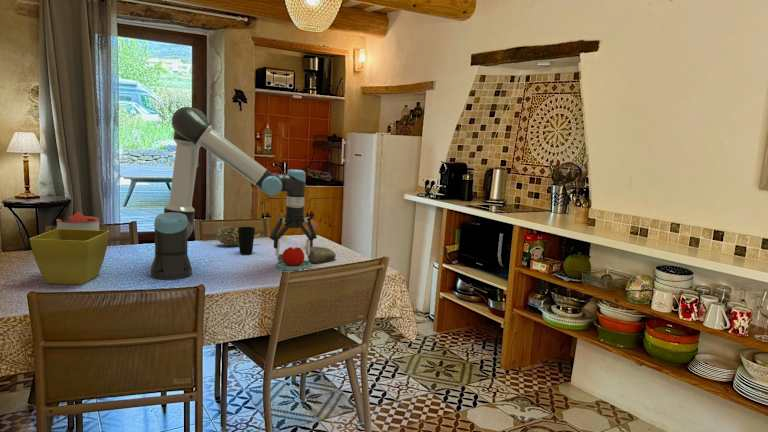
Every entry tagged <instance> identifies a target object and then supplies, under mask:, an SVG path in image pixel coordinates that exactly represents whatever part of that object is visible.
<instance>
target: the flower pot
mask: <svg viewBox="0 0 768 432" xmlns="http://www.w3.org/2000/svg"><path fill="white" fill-rule="evenodd" d="M109 237H110V231H109V230H100V229H99V230H82V229H56V228H55V229H52V230H50V231H47V232H44V233H41V234H39V235H36V236H32V237H30V238H29V243H30V248H31V251H32V253H33V257H34V260H35V262H36V265H37V268H38V270H39V272H40V274H41V276H42V277H43V278H42V279H43V280H44V282H45V283H46V284H54V285H64V284H65V285H84V284H86V283H88V282H89V281H91V280H93V279H94V278H96V277H98V276H99V274H100V271H101V269H102V266H103V263H104V259H105V257H106V252H107V249H108V244H109Z"/></svg>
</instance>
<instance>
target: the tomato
mask: <svg viewBox="0 0 768 432" xmlns="http://www.w3.org/2000/svg"><path fill="white" fill-rule="evenodd" d="M281 254H282V260H283V262H284V263H285V264H286V265H289V266H292V267H293V266H299V265H301V264H302V263H303V261H304V260H305V252H304V251H303V249H302V248H301V247H292V246H289V247H288V248H286V249H284V251H283V252H282V253H281Z"/></svg>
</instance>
